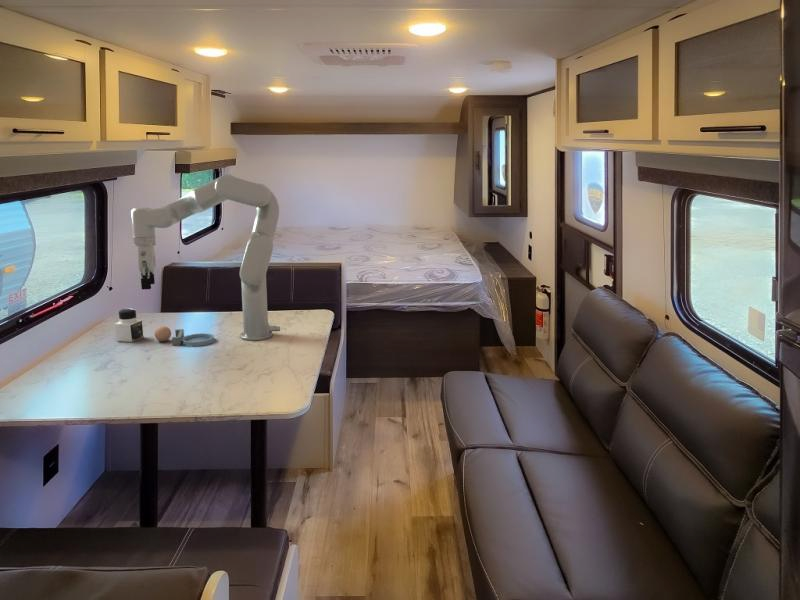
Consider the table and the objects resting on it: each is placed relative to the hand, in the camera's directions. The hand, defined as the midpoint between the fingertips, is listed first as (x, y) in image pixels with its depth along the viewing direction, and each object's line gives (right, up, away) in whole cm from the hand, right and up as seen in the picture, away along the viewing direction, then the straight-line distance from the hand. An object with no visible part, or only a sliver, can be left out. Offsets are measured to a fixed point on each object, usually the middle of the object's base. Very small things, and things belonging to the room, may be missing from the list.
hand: (148, 286), depth 220 cm
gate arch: (+10, -21, +7) cm, 24 cm away
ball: (+3, -21, +6) cm, 22 cm away
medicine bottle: (-11, -21, +9) cm, 25 cm away
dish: (+17, -21, +6) cm, 28 cm away
